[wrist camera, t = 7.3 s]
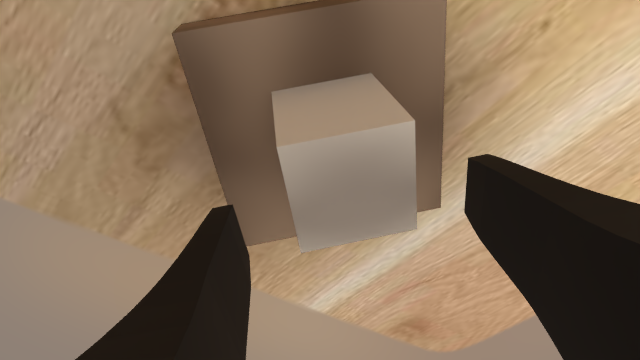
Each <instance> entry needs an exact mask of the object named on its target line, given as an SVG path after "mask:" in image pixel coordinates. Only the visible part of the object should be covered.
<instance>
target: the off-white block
mask: <svg viewBox="0 0 640 360" xmlns="http://www.w3.org/2000/svg"><path fill="white" fill-rule="evenodd" d="M271 93H272V103H273V114H274V125H275V136H276V146H277V151H278V156H279V160H280V164H281V169H282V173H283V177H284V182H285V186H286V190H287V195H288V199H289V203H290V208H291V212H292V216H293V221H294V225H295V229H296V234H297V238H298V242H299V247H300V251H301V253H304V252H309V251H314V250H318V249H323V248H328V247H333V246H338V245H343V244H348V243H352V242H357V241H362V240H367V239H372V238H377V237H382V236H386V235H391V234H396V233H401V232H406V231H411V230H415V229H417V201H416V145H415V120H414V119H413V118H412V117H411V115H410V114H409V113H408V112H407V111H406V110H405V109H404V108H403V107H402V106H401V105H400V104H399V102H398V101H397V100H396V99H395V98H394V97H393V96H392V95H391V94H390V93H389V92H388V91H387V90H386V88H385V87H384V86H383V85H382V84H381V83H380V82H379V81H378V80H377V79H376V78H375V77H374V75H373V74H372V73H369V74H363V75H358V76H353V77H347V78H342V79H337V80H331V81H326V82H321V83H315V84H310V85H305V86H299V87H294V88H289V89H284V90H278V91H273V92H271Z"/></svg>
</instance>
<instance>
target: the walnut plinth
mask: <svg viewBox="0 0 640 360" xmlns="http://www.w3.org/2000/svg"><path fill="white" fill-rule="evenodd" d="M446 7H447V0H319V1H313V2H307V3H302V4H296V5H290V6H284V7H278V8H273V9H267V10H261V11H255V12H249V13H244V14H238V15H232V16H226V17H221V18H215V19H209V20H203V21H197V22H192V23H186V24H181V25H180V26H179V27H178V28H177V29H176V30H175V31H174V32H173V33H172V36H173V39H174V42H175V45H176V48H177V51H178V54H179V57H180V60H181V63H182V66H183V70H184V73H185V76H186V79H187V82H188V85H189V88H190V91H191V94H192V97H193V100H194V103H195V106H196V109H197V112H198V115H199V118H200V121H201V124H202V128H203V131H204V134H205V137H206V140H207V143H208V146H209V149H210V152H211V155H212V158H213V161H214V164H215V167H216V170H217V173H218V176H219V179H220V183H221V186H222V189H223V192H224V195H225V198H226V201H227V204H228V205H232V204H233V207H234V210H235V213H236V216H237V219H238V222H239V225H240V228H241V232H242V235H243V238H244V241H245V244H246V246H251V245H256V244H261V243H266V242H271V241H276V240H281V239H286V238H291V237H296V236H297V234H296V229H295V225H294V221H293V216H292V212H291V208H290V203H289V199H288V195H287V190H286V186H285V182H284V177H283V173H282V169H281V164H280V160H279V156H278V151H277V146H276V136H275V125H274V114H273V103H272V93H271V92H273V91H278V90H284V89H289V88H294V87H299V86H305V85H310V84H315V83H321V82H326V81H331V80H337V79H342V78H347V77H353V76H358V75H363V74H369V73H372V74H373V75H374V77H375V78H376V79H377V80H378V81H379V82H380V83H381V84H382V85H383V86H384V87H385V88H386V90H387V91H388V92H389V93H390V94H391V95H392V96H393V97H394V98H395V99H396V100H397V101H398V102H399V104H400V105H401V106H402V107H403V108H404V109H405V110H406V111H407V112H408V113H409V114H410V115H411V117H412V118H413V119H414V120H415V145H416V201H417V212H421V211H426V210H431V209H436V208H441V176H442V143H443V109H444V75H445V41H446Z"/></svg>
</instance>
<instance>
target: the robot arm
mask: <svg viewBox="0 0 640 360" xmlns="http://www.w3.org/2000/svg"><path fill="white" fill-rule="evenodd" d="M464 212H465V214H466V216H467V218H468V219H469V221H470V223H471V225H472V227H473V229H474V230H475V232H476V234H477V235H478V237H479V239H480V240H481V241H482V243H483V244H484V245H485V247H486V248H487V249H488V251H489V252H490V253H491V255H492V256H493V257H494V258H495V260H496V261H497V262H498V264H499V265H500V266H501V267H502V269H503V270H504V271H505V273H506V274H507V275H508V276H509V278H510V279H511V280H512V282H513V283H514V284H515V285H516V287H517V288H518V289H519V291H520V292H521V293H522V294H523V296H524V297H525V299H526V300H527V301H528V303H529V304H530V306H531V307H532V308H533V310H534V312H535V313H536V315H537V316H538V318H539V320H540V321H541V323H542V324H543V326H544V328H545V329H546V331H547V332H548V334H549V336H550V337H551V339H552V341H553V342H554V344H555V346H556V347H557V349H558V351H559V353H560V354H561V356H562V358H563V359H564V360H640V204H637V203H633V202H629V201H626V200H622V199H618V198H614V197H611V196H607V195H604V194H600V193H597V192H594V191H591V190H588V189H585V188H582V187H578V186H575V185H572V184H570V183H567V182H564V181H561V180H558V179H556V178H553V177H550V176H547V175H545V174H542V173H539V172H537V171H534V170H532V169H529V168H526V167H524V166H521V165H519V164H516V163H513V162H511V161H508V160H505V159H502V158H499V157H496V156H493V155H489V154H485V155H480V156H475V157H470V158H468V169H467V183H466V197H465V211H464ZM250 292H251V277H250V260H249V254H248V250H247V247H246V244H245V241H244V238H243V235H242V232H241V228H240V225H239V222H238V219H237V216H236V213H235V210H234V207H233V204H232V205H227V206H222V207H217V208H212V210H211V211H210V212H209V214H208V215H207V216H206V218H205V219H204V221H203V222H202V224H201V225H200V227H199V228H198V230H197V231H196V233H195V234H194V236H193V237H192V239H191V240H190V241H189V243H188V244H187V246H186V247H185V248H184V250H183V251H182V252H181V254H180V255H179V257H178V258H177V259H176V260H175V262H174V263H173V264H172V266H171V267H170V268H169V269H168V270H167V272H166V273H165V274H164V276H163V277H162V278H161V279H160V280H159V281H158V283H157V284H156V285H155V286H154V287H153V288H152V290H151V291H150V292H149V293H148V294H147V295H146V296H145V297H144V298H143V299H142V300H141V301H140V302H139V303H138V304H137V305H136V306H135V307H134V308H133V309H132V310H131V311H130V312H129V313H128V314H127V315H126V316H125V317H124V318H123V319H122V320H120V321H119V323H117V324H116V325H115V326H114V327H113V328H112V329H111V330H109V331H108V332H107V333H106V334H105V335H104V336H103V337H102V338H101V339H100V340H98V341H97V342H96V343H95V344H94V345H93V346H91V347H90V348H89V349H88V350H86V351H85V352H84V353H83V354H82V355H80V356H79V357H78V358H77V359H75V360H246V346H247V332H248V320H249V307H250Z"/></svg>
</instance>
